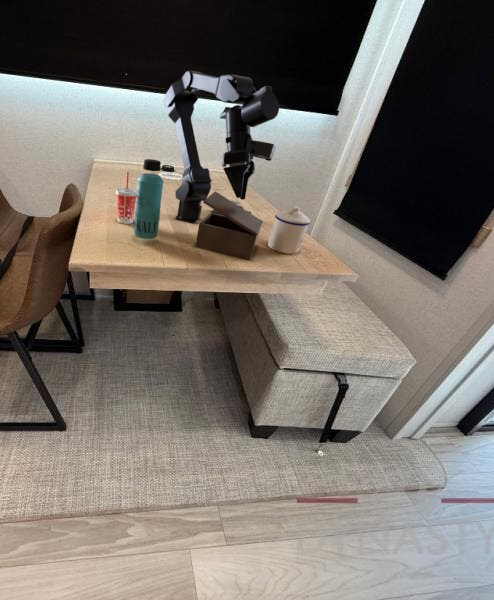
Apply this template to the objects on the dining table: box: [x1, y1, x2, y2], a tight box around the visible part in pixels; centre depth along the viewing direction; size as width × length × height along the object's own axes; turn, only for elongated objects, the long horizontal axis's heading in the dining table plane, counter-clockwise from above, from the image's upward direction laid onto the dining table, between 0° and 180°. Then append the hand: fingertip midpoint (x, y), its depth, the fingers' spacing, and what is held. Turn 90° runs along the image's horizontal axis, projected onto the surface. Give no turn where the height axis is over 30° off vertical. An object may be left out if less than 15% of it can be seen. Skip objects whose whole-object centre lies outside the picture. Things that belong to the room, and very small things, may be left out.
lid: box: [202, 191, 263, 236], centre depth 85 cm, size 15×12×1 cm
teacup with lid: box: [267, 205, 311, 255], centre depth 91 cm, size 12×9×12 cm
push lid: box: [231, 200, 241, 206], centre depth 109 cm, size 4×4×2 cm
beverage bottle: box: [133, 158, 164, 240], centre depth 81 cm, size 6×7×20 cm
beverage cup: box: [115, 171, 137, 225], centre depth 94 cm, size 6×6×14 cm
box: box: [195, 212, 262, 261], centre depth 88 cm, size 15×12×6 cm
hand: (241, 198), depth 84 cm, fingers open, 9 cm apart
